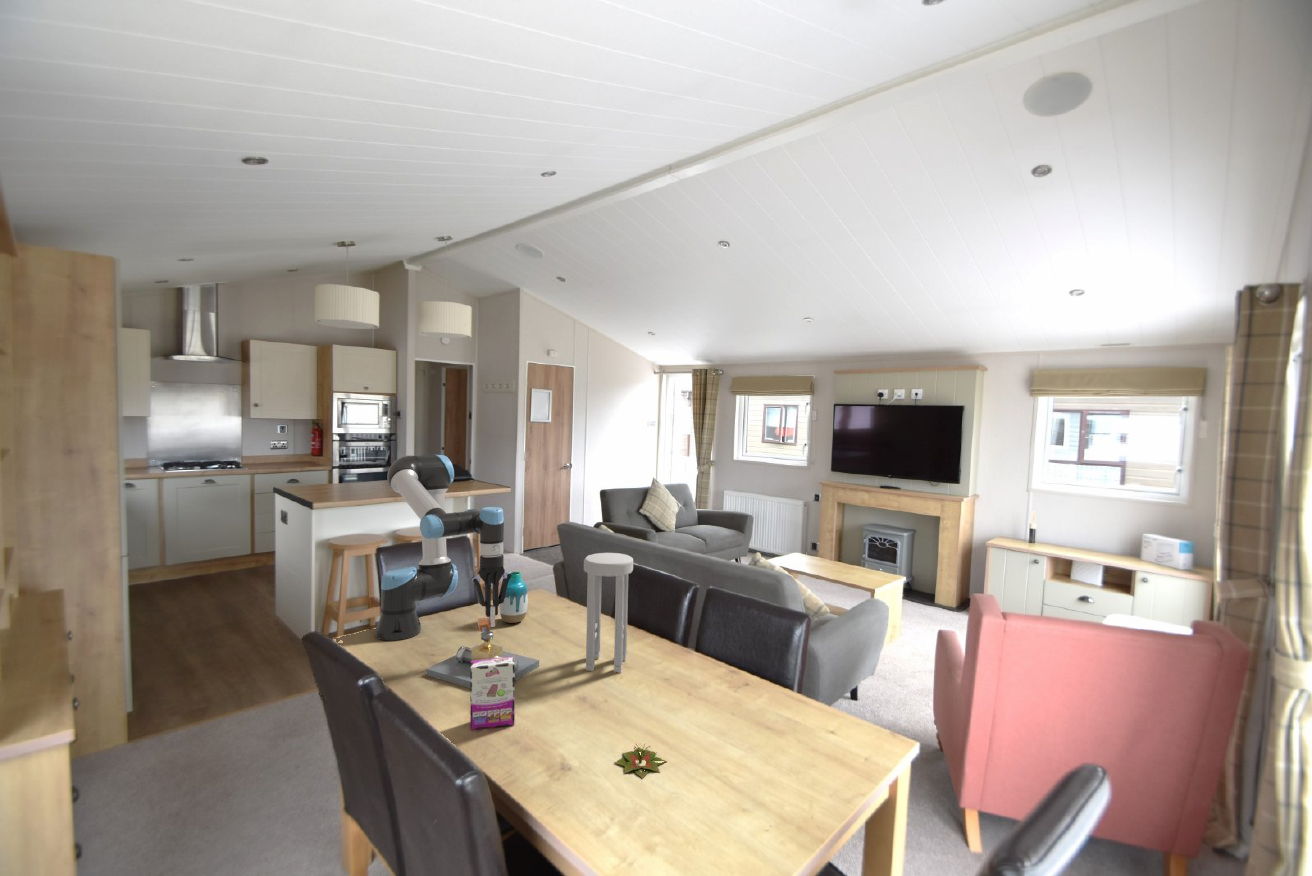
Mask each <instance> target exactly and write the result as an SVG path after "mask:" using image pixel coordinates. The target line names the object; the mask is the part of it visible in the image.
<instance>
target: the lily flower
mask: <svg viewBox="0 0 1312 876" xmlns="http://www.w3.org/2000/svg"><path fill="white" fill-rule="evenodd" d="M640 745H641V743H640ZM645 745H646V743H644V744H643V747H641V746H638V744H637V743H635V745H634V746H633V749H634V750H630V751H626V752H622V755H623V756H624V757H622V758H620V759H618V760H616V761H614V762H613V764H617V765H620V766H623V767H624V772H623V774H626V773H629V772H632V771H633V772H635V774H637V776H639V777H641V779H642V780H643V778H644V777H645V776H646V775H647V774H648V772H649V771H650V770H651V771H654V772H658V773H660V768H659V765H661V764H664V763H666V762H668V761H667V760H665V759H662V758H661V757H656V755H657V752H656V751H651V750H649V749H648V748H650V747H651V745H648V746H647V747H645ZM644 747H645V749H644ZM639 752H641V755H640V753H639ZM655 752H656V753H655ZM637 761H638V763H639V764H640V763H641V764H642V762H643V761H644V762H645V761H646V763H645V765H637ZM655 761H664V762H662V763H658V762H655ZM641 768H643V770H645V771H643V770H642V771H641V770H639V769H641Z"/></svg>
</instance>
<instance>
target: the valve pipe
mask: <svg viewBox="0 0 1312 876" xmlns="http://www.w3.org/2000/svg"><path fill="white" fill-rule="evenodd" d="M478 645H479V646H477V647H475V648H473V649H471V648H472V647H469V646H464V645H463V646H460V647H459V648H458V649H457V651H456V654H455V655H456V660H457V661H458V662H462V663H464V662H467V663H471V661H475V660H485V659H495V658H503V657H502V651H503V646H501V645H497V644H493V643H491V640H488V641H484V640H483V643H481V644H478ZM514 664H515V673H516V672H517V670H518V667H519V663H518V660H516V659H514Z"/></svg>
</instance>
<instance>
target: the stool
mask: <svg viewBox="0 0 1312 876" xmlns="http://www.w3.org/2000/svg"><path fill="white" fill-rule="evenodd" d="M633 570H634V558H633V557H632V556H630V555H628V554H625V553H619V552H599V553H593V554H588V555H587V556H586V557H585V558H584V559H583V571H584V572H585V573H587V585H586V586H587V587H586V588H587V591H586V593H587V594H586V595H587V596H586V639H585V640H586V646H585V648H586V650H585V653H586V654H585V671H588V672H590V671H591V672H594V669H595V660H600V658H599V657H601V625H602V624H601V621H602V620H601V615H602V611H601V610H602V577H608V578H609V577H612V578H613V577H615V596H614V597H615V601H614V602H615V605H614V606H615V608H614V612H615V613H614V645H613V647H614V650H613V651H614V654H613V655H614V657H613V663H614V664H613V673H616V672H618V674H619V673H622V671H623V662H625V661H626V660H627V653H628V651H627V650H628V649H627V648H628V647H627V646H628V644H627V643H628V605H629V604H628V601H629V599H628V598H629V594H628V593H629V575H630V574H632V573H633Z"/></svg>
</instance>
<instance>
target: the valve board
mask: <svg viewBox="0 0 1312 876" xmlns="http://www.w3.org/2000/svg"><path fill="white" fill-rule="evenodd" d="M479 645H480V644H477V645H474V646H472V647H470V648H471V649H473V648H475V647H477V646H479ZM502 657H503V658H506V657H514V659H516V660H518V663H519V667H518V670H517V672H516V673H515V680H516V681H517V680H519V679H521V678H523V677H524V676H526V675H527V674H529V673H530V672H532V671H534V670H535V669H537V668H539V667H540V659H536V658H533V657H527V656H524V655H519V654H517V653H511V652H507V651H504V650H502ZM470 668H471V663H467V662H464V663H462V662H458V661H457V660H456V654H455V655H453V656H451V657H449V658H446V659H445V660H442V661H441V662H438V663H436V664H434V665H431V666H429V667H427V668H426V670H425V671H426V675H425V676H428V677H431V678H435V679H438V680H441V681H445V682H448V683H450V684H455V685H457V684H458V686H461V687H465V688H469V689H470Z"/></svg>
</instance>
